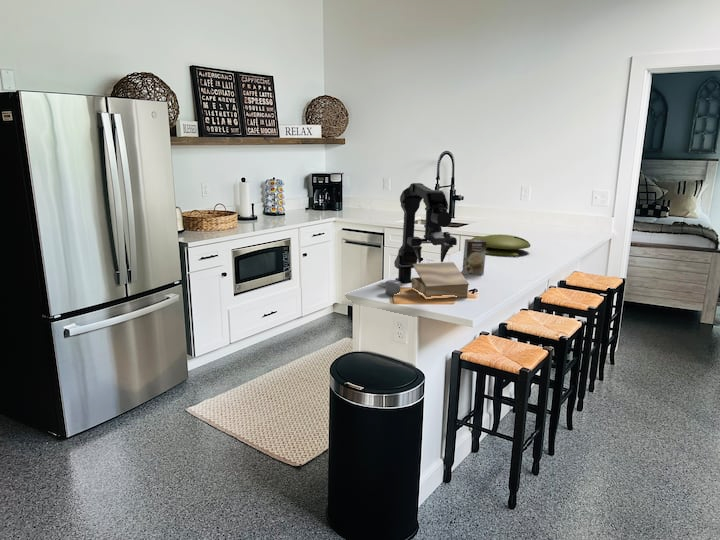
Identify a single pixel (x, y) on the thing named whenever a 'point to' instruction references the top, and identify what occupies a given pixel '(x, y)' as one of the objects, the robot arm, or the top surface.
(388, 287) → the grey domed cylinder
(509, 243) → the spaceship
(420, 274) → the lid
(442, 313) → the top surface
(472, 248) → the coffee box
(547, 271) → the top surface
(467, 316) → the top surface
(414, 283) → the box
